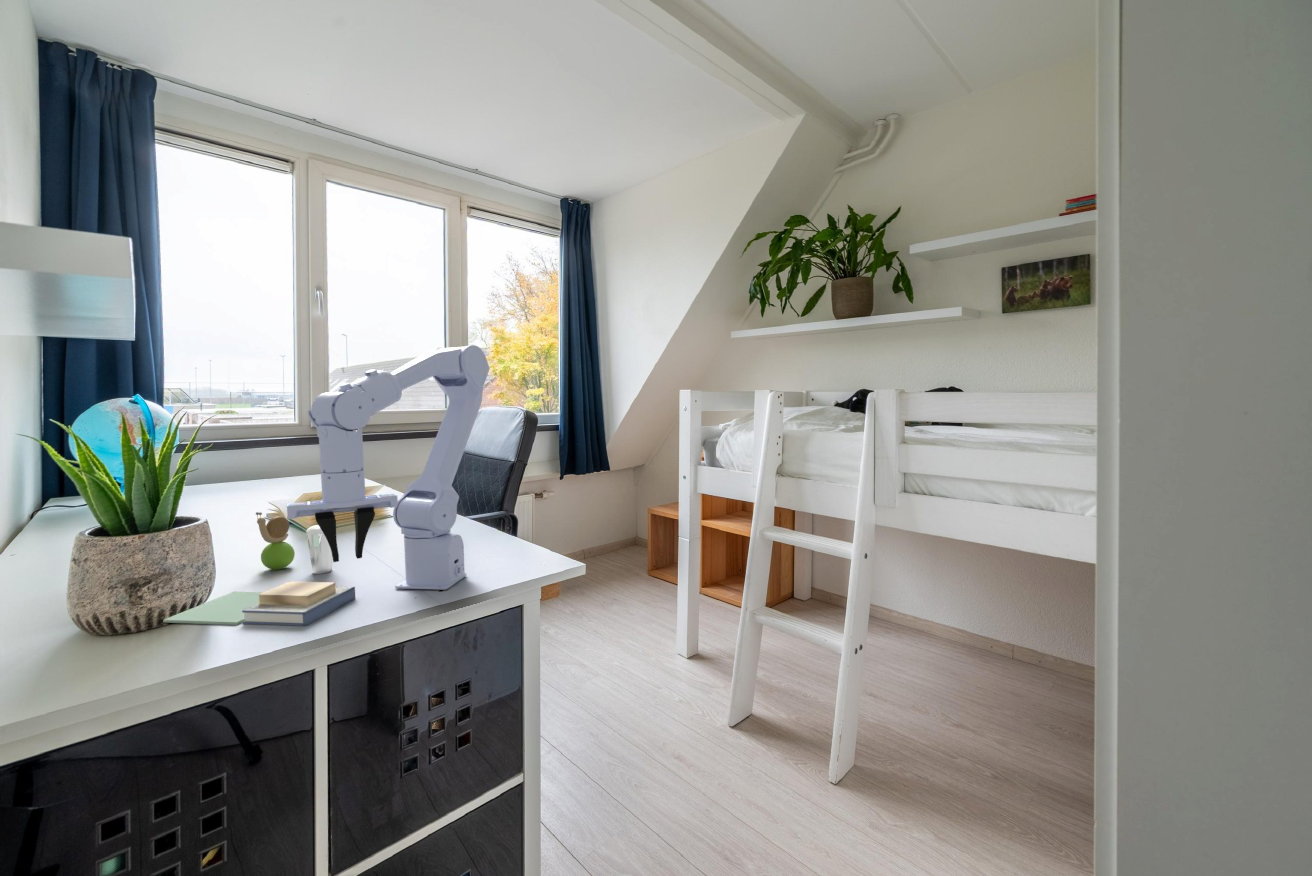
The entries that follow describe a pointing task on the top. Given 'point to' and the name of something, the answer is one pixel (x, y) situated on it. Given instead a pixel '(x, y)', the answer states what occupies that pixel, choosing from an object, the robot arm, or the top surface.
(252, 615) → the notebook
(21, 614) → the top surface
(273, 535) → the snail figurine
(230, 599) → the mat
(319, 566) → the milkshake
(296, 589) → the tile
